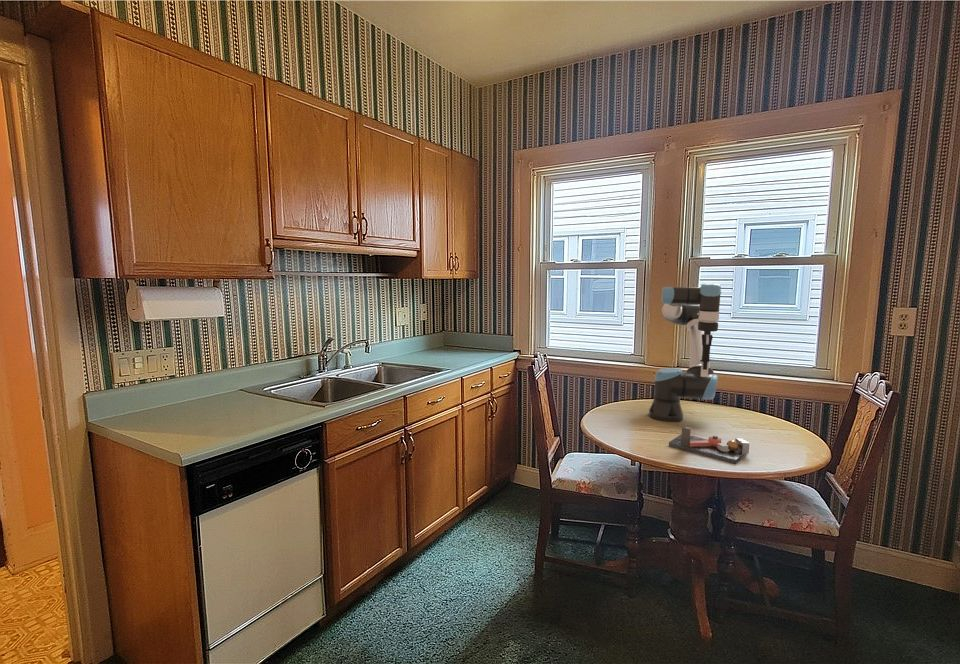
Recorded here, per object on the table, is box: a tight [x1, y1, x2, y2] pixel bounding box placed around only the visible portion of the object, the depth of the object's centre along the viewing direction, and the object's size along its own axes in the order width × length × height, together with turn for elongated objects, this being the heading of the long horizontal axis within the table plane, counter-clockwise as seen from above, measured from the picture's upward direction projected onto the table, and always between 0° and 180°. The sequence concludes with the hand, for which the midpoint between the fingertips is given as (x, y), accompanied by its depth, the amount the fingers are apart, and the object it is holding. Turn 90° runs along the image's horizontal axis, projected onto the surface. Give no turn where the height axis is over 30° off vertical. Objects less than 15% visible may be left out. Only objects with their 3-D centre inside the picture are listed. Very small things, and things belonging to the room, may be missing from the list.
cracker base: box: [668, 434, 750, 465], centre depth 174 cm, size 26×14×6 cm, turn 45°
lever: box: [680, 426, 728, 451], centre depth 172 cm, size 16×9×7 cm, turn 95°
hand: (704, 376), depth 191 cm, fingers closed
